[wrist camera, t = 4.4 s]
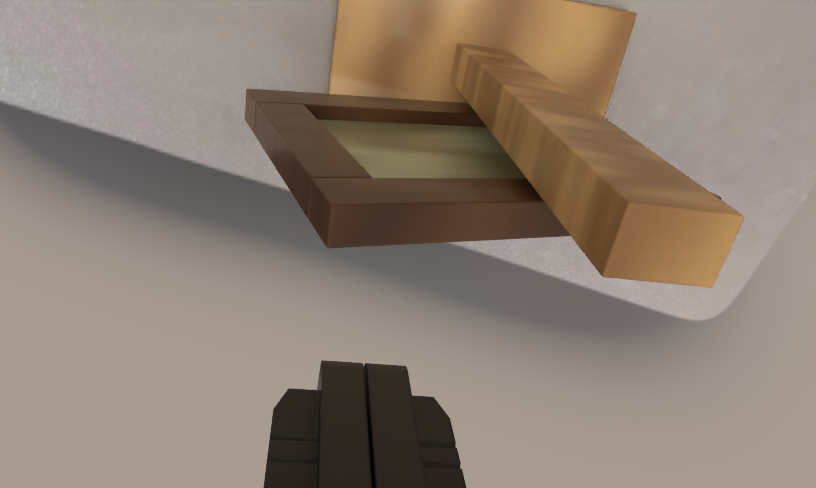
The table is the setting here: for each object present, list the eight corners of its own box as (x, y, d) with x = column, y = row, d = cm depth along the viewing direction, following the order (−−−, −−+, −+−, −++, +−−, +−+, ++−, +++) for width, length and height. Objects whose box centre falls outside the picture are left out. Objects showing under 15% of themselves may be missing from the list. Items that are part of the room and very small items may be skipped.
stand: (326, 109, 35) (316, 359, 15) (343, -42, 32) (361, 14, 11) (584, 145, 38) (873, 397, 18) (625, 10, 34) (1048, 129, 14)
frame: (244, 119, 27) (326, 249, 17) (246, 88, 26) (332, 204, 17) (537, 132, 34) (709, 229, 24) (544, 107, 33) (723, 197, 24)
